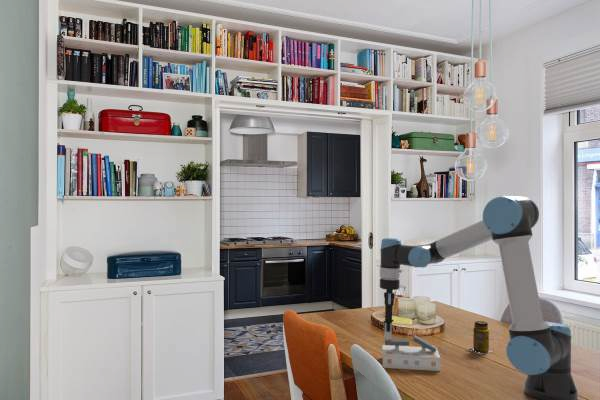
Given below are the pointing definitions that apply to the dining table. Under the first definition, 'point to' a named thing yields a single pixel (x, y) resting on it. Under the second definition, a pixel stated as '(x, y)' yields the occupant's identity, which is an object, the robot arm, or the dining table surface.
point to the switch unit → (410, 358)
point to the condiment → (480, 338)
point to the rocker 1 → (397, 342)
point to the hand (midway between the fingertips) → (387, 339)
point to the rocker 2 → (424, 343)
